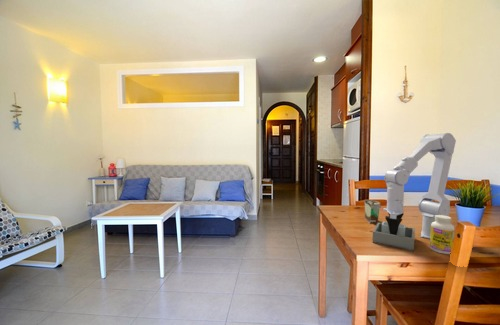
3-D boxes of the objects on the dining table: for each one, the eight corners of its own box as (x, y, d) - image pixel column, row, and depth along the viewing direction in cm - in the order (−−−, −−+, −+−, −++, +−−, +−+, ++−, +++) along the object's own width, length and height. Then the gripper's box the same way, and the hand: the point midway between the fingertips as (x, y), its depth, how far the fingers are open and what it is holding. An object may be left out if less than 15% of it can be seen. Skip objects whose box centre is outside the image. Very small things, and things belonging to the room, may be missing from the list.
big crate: (414, 238, 97) (414, 228, 96) (413, 251, 85) (414, 239, 85) (377, 232, 105) (378, 222, 104) (372, 242, 93) (372, 231, 93)
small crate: (405, 239, 94) (405, 225, 94) (404, 243, 91) (405, 228, 90) (382, 235, 99) (383, 221, 99) (381, 238, 95) (381, 224, 95)
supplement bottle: (428, 250, 85) (429, 216, 85) (431, 245, 90) (432, 213, 89) (452, 256, 80) (454, 220, 80) (454, 250, 85) (455, 216, 84)
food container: (384, 225, 115) (384, 205, 114) (370, 224, 116) (371, 204, 115) (376, 218, 127) (376, 200, 126) (363, 217, 128) (364, 199, 128)
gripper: (385, 195, 102) (385, 225, 103) (381, 201, 90) (380, 235, 91) (405, 197, 98) (404, 228, 99) (403, 203, 86) (402, 239, 87)
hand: (394, 232), depth 95 cm, fingers open, 7 cm apart
